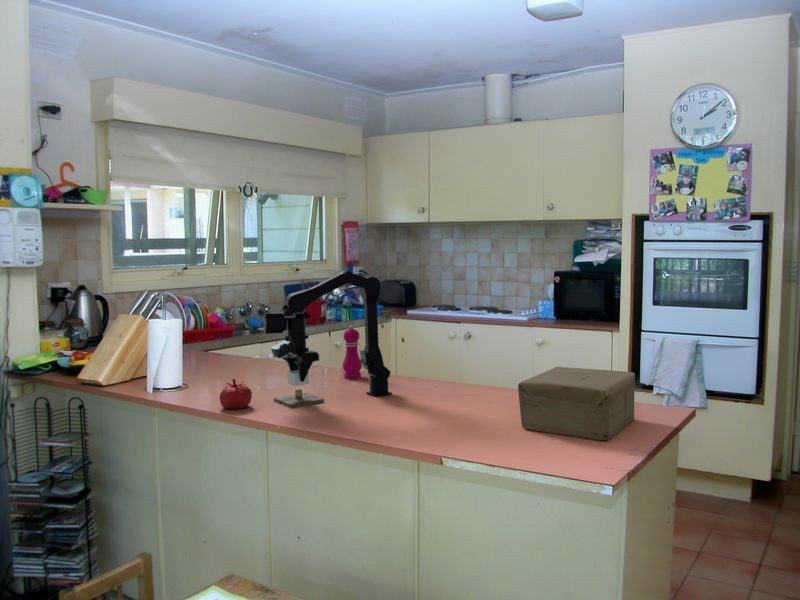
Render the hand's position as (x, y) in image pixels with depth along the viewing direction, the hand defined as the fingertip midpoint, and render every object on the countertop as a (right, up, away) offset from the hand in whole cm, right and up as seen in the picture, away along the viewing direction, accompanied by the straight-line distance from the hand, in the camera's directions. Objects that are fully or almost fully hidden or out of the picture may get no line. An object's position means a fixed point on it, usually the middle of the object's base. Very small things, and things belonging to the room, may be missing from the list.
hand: (298, 380), depth 230 cm
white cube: (0, -1, 0) cm, 1 cm away
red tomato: (-19, -8, -5) cm, 21 cm away
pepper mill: (+15, -4, +38) cm, 41 cm away
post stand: (0, -7, +1) cm, 7 cm away
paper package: (+82, -9, -33) cm, 89 cm away
